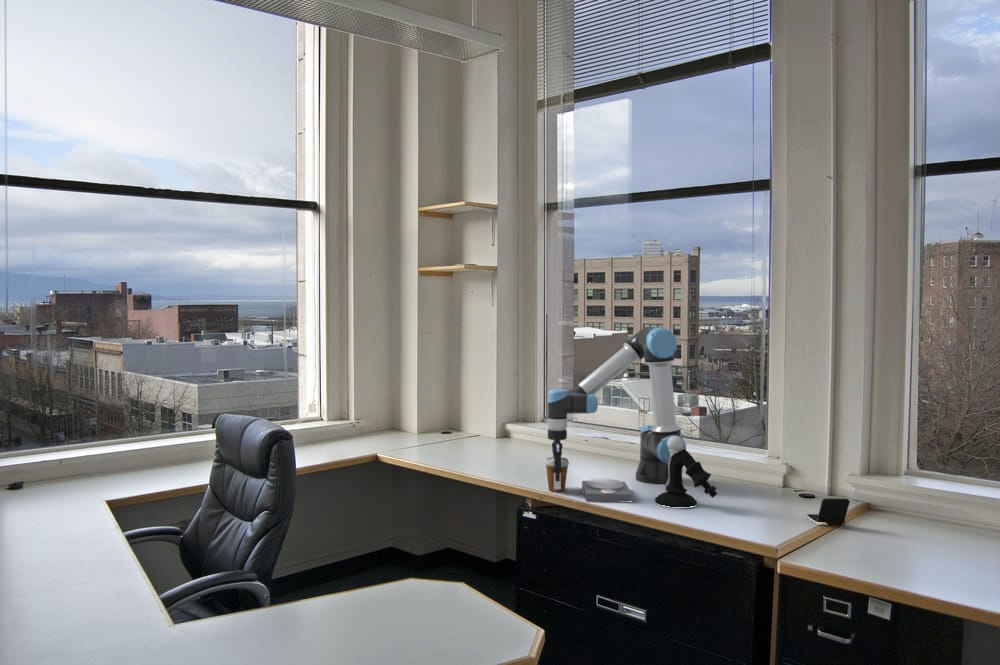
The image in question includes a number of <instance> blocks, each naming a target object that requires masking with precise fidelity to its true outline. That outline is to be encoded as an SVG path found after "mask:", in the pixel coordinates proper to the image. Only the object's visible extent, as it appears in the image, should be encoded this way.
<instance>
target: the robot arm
mask: <svg viewBox="0 0 1000 665" xmlns="http://www.w3.org/2000/svg"><path fill="white" fill-rule="evenodd" d="M677 348H678V340H677V338H676V336H675V334H674V333H673V332H672V331H671V330H669V329H667V328H664V327H658V326H657V327H656V326H654V327H653V326H647V327H643V328H641V329H640V330H639V331H637V332H636V333H635V334H634V335H632V336H631V337H630V338H629V339H627V340H626V342H624V343H623V347H622V348H620V350H618V351H617V352H616V353H614V354H613V355H612V356H611V357H610V358H609V359H607V360H606V361H605V362H603V364H601V365H600V366H599V367H598V368H596V369H595V370H594V371H593V372H591V374H589V375H588V376H587V377H585V378H584V379H582V381H581V382H579V383H578V384H576V386H574V387H573V388H571V389H562V388H561V389H560V388H559V389H558V388H555V389H550V390H549V391H548V395H547V397H548V398H547V420H546V421H545V422H546V423H547V428H548V429H547V439H548V440H550V441H552V443H551V449H552V457H554V471H552V473H554V489H561V457H562V455H563V443H562V442H561V441H564V440H567V438H568V430H567V428H568V414H569V415H570V414H571V415H572V414H587V415H588V414H595V413H596V412H597V411H598V397H597V395H596V394H597V393H598V392H599V391H601V390H602V389H603V388H604V387H606V386H607V385H608V384H609V383H611V382H612V381H614V379H616V378H617V377H618V376H619V375H620V374H622V373H623V372H624V371H625V370H626V369H627V368H629V367H630V366H631V365H633V364H634V363H635V362H640V361H641V360H643V359H644V363H645V364H646V365H647V366H648V367H649V368H648V369H649V379H650V390H651V402H652V412H653V424H654V425H653V424H650V425H649V424H648V425H642V426H641V428H640V432H639V433H640V442H639V443H640V446H639V448H640V450H639V451H640V453H639V457H640V458H639V462H638V466H637V469H636V470H635V480H636V481H638V480H639V481H638V482H642V483H646V482H648V484H666V482H667V480H668V479H669V477H668V476H669V475H668V471H669V470H668V469H669V468H668V467H669V462H670V461H669V460H671V459H670V451H669V450H670V449H669V448H668V446H667V441H668V439H669V438H670V437H672V436H678V437H680V438H682V440H683V442H684V446H683V448H684V449H685V450H686V451H687V444H686V442H685V439H683V437H682V431H681V426H679V425H678V424H677V421H676V420H677V418H676V408H675V397H674V396H675V395H674V387H673V386H674V385H673V374H672V364H673V362H674V361H675V353H676V352H677Z"/></svg>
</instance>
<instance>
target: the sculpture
mask: <svg viewBox="0 0 1000 665" xmlns="http://www.w3.org/2000/svg"><path fill="white" fill-rule="evenodd" d="M682 438H683V437H681V438H680V437H678V436H672V437H670V438H669V439H668V441H667V446H668V448H669V449H670V450H669V451H670V459H671V460H669V461H670V462H669V467H668V468H669V469H668V470H669V471H668V475H669V476H668V477H669V479H668V480H667V482H666V483H664V485H663V487H664V488H665V489H664V490H665V491H663V492H661V493H660V494H658V495H657V497H655V498H654V503H655V502H656V503H658V504H660V505H665V506H670V507H690V506H695V505H696V504H697V505H698V501H697V500H696V499H695V498H694V496H692V495H691V494H689V493H687V492H688V490H687V489H686V488H685V487H684V484H683V468H684V467H685V469H686V470H685V474H686V476H688V477H689V478H691V480H692V483H693V487H694V488H699V487H703V489H704V490H703V492H704V494H706V495H708V494H709V495H710V497H711V498H712V499H713V498H715V497H716V496H717V495H719V494H718V492H717V487H716V486H715V485H713V486H712V485H711V484H710V483H709V481H708V480H709V479H710V477H711V475H712V473H709V472H707V471H706V470H705V469H704V468H703V466H702V464H701V462H700V461H696V460H695V459H694V457H693V456H692V455H691V454H690V452H689V451H688V450H687V449H686V450H685V449H684V448H683V446H684V442H683V440H684V439H683V440H682ZM656 503H655V504H656ZM658 504H657V505H658ZM660 505H659V506H660Z"/></svg>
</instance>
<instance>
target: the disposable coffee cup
mask: <svg viewBox="0 0 1000 665" xmlns="http://www.w3.org/2000/svg"><path fill="white" fill-rule="evenodd" d="M544 464H545V469H546V475H547V476H546V477H547V488H548V490H549V491H551V492H564V491H565V490H566V485H567V484H566V482H567V474H568V468H569V467H568V466H569V464H570V462H569V459H568V458H566V457H562V456H561V489H554V473H552V471H554V457H553V456H551V457H547V458H545V461H544Z"/></svg>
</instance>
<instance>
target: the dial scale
mask: <svg viewBox="0 0 1000 665" xmlns="http://www.w3.org/2000/svg"><path fill="white" fill-rule="evenodd" d="M581 489H582V493H583V492H584V493H583V496H584V499H585V501H586V502H592V501H632V502H633V493H632V491H631V489H630V488H629V487H628V484H627V483H626V481H621V480H618V479H614V478H613V479H612V478H611V479H610V478H593V479H589V480H581Z"/></svg>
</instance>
